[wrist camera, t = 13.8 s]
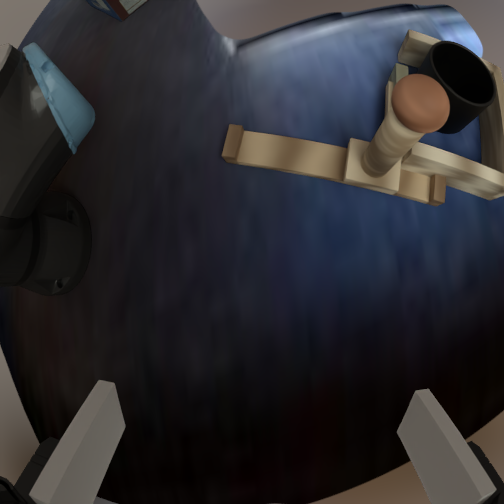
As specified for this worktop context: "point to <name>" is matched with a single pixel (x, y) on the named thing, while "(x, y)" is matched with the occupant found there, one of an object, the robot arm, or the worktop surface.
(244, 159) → the rail
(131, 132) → the worktop surface
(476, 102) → the mug
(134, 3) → the protein box
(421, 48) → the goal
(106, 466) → the robot arm
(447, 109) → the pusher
